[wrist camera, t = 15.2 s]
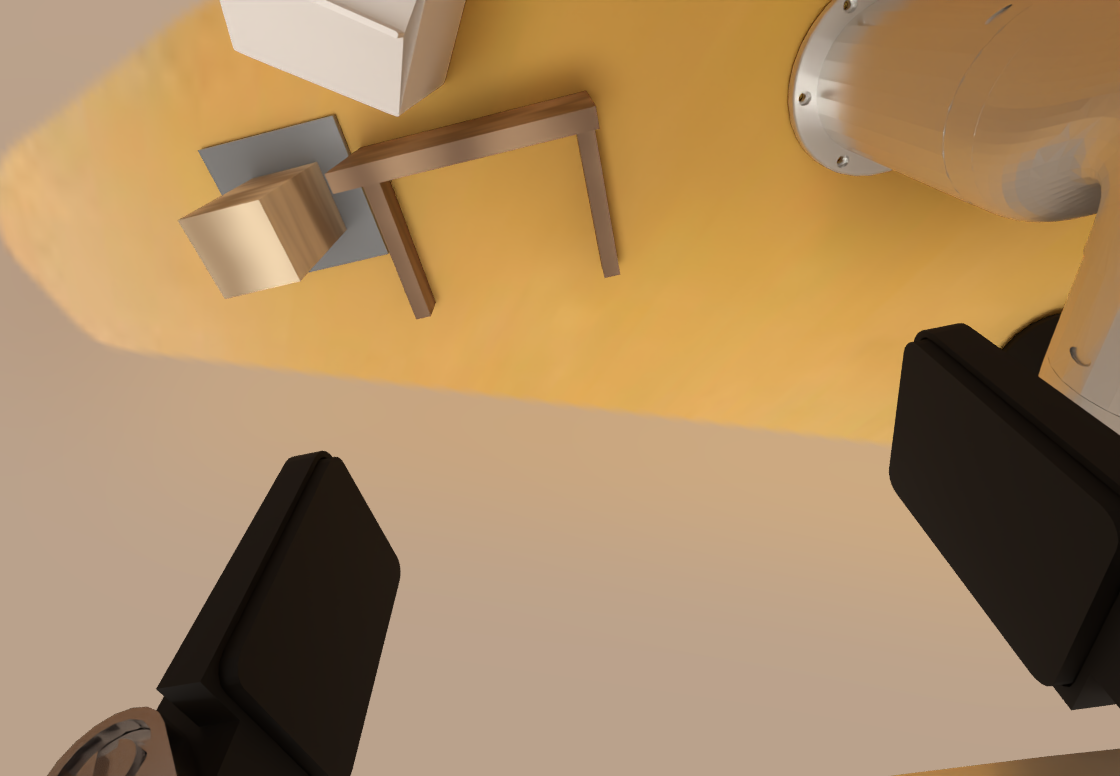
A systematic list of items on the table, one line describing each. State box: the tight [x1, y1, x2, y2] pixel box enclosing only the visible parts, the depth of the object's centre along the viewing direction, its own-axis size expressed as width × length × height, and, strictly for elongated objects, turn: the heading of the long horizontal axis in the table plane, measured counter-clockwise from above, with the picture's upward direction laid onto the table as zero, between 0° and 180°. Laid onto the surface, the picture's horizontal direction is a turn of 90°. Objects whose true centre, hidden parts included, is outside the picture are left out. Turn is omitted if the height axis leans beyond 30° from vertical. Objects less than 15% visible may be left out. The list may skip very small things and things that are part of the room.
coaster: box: [198, 115, 389, 272], centre depth 42 cm, size 10×10×1 cm
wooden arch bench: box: [325, 91, 620, 319], centre depth 40 cm, size 16×13×8 cm
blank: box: [178, 162, 347, 299], centre depth 38 cm, size 5×5×10 cm
